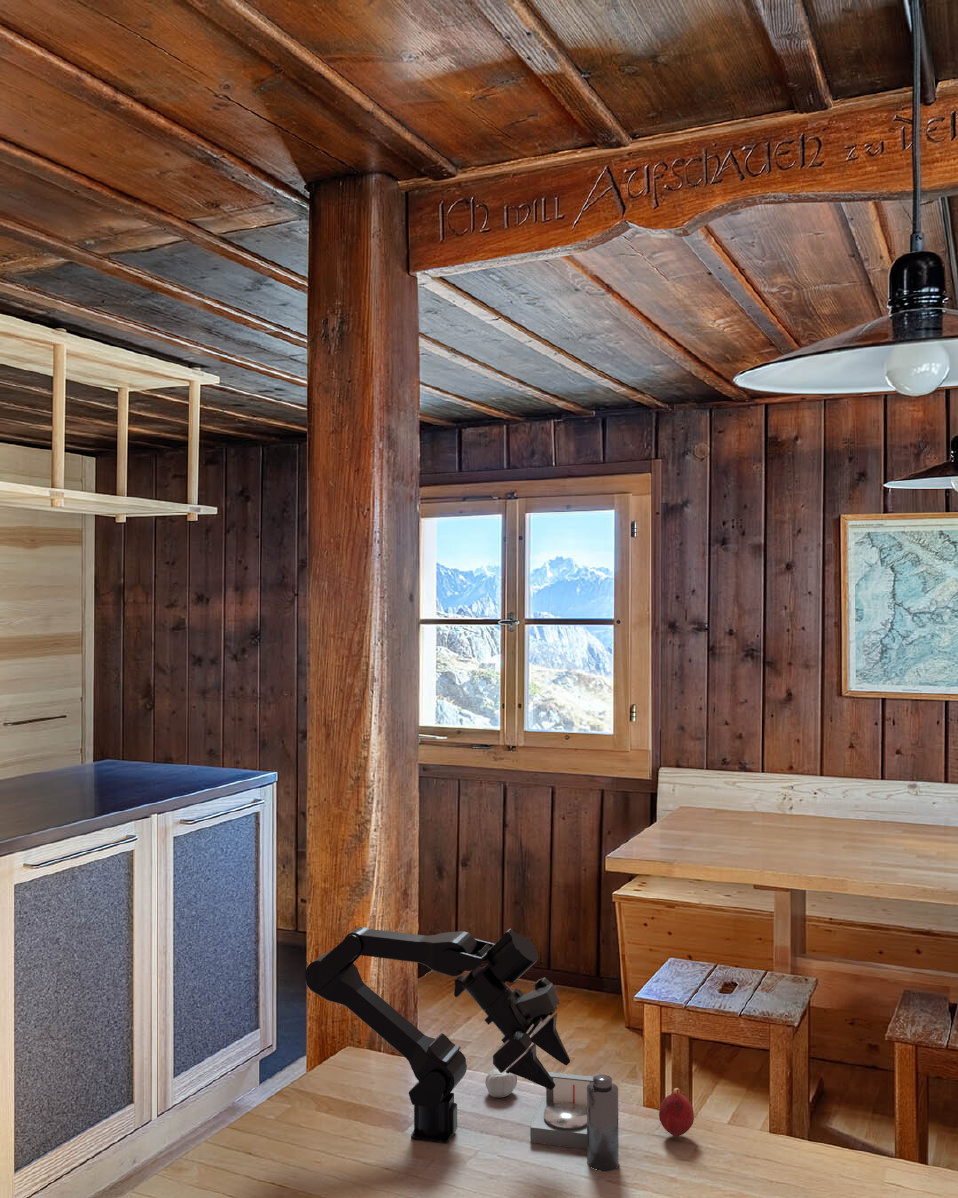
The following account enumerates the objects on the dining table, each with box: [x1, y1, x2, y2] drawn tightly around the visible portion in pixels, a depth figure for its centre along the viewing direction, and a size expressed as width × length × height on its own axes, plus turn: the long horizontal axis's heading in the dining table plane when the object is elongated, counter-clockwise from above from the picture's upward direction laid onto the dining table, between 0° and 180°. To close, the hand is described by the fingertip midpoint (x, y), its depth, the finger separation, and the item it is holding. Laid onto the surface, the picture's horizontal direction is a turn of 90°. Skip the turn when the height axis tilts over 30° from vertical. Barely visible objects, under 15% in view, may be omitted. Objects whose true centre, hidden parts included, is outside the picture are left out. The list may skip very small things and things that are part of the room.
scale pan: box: [544, 1103, 587, 1130], centre depth 179 cm, size 8×8×1 cm
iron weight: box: [586, 1073, 620, 1172], centre depth 169 cm, size 5×5×14 cm
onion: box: [658, 1087, 695, 1138], centre depth 177 cm, size 6×6×8 cm
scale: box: [529, 1071, 594, 1150], centre depth 180 cm, size 11×11×7 cm
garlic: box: [484, 1067, 518, 1098], centre depth 193 cm, size 6×5×5 cm
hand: (561, 1075), depth 171 cm, fingers open, 9 cm apart
